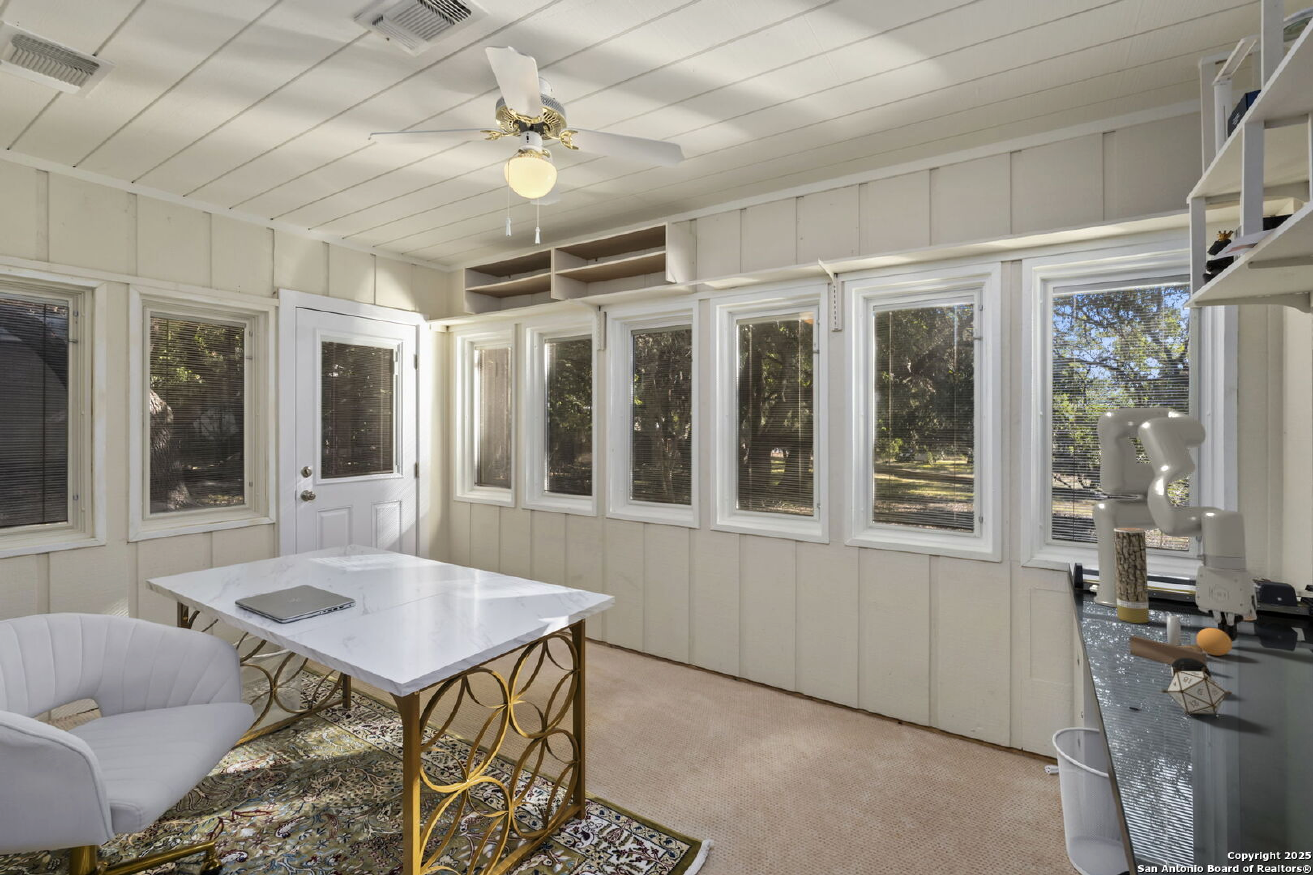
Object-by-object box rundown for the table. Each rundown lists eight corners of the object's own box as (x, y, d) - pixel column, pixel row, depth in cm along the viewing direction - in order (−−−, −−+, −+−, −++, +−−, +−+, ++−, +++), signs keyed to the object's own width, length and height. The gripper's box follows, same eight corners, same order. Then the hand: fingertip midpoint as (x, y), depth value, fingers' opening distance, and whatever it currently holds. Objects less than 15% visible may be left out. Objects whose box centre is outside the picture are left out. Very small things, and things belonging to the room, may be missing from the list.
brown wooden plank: (1134, 652, 143) (1133, 635, 143) (1207, 672, 130) (1206, 653, 130) (1130, 653, 142) (1129, 636, 143) (1203, 673, 130) (1202, 654, 130)
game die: (1184, 734, 111) (1139, 682, 115) (1209, 709, 114) (1165, 659, 118) (1230, 728, 103) (1180, 673, 107) (1256, 701, 106) (1206, 649, 110)
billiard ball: (1168, 681, 126) (1167, 651, 126) (1207, 686, 123) (1205, 656, 123) (1175, 691, 121) (1174, 660, 121) (1215, 697, 118) (1214, 665, 118)
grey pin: (1165, 652, 142) (1163, 615, 143) (1173, 651, 143) (1171, 615, 143) (1176, 656, 140) (1174, 618, 140) (1184, 655, 141) (1182, 617, 141)
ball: (1198, 619, 143) (1199, 635, 145) (1193, 639, 140) (1195, 656, 142) (1233, 626, 138) (1234, 643, 141) (1229, 647, 135) (1230, 664, 138)
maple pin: (1187, 651, 142) (1169, 654, 138) (1191, 642, 141) (1173, 644, 137) (1200, 657, 140) (1181, 660, 136) (1204, 648, 139) (1185, 650, 135)
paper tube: (1155, 624, 165) (1151, 530, 165) (1129, 624, 165) (1125, 531, 165) (1136, 617, 172) (1132, 527, 172) (1111, 617, 172) (1107, 527, 172)
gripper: (1178, 559, 151) (1181, 634, 151) (1256, 569, 138) (1260, 652, 137) (1196, 556, 154) (1199, 630, 154) (1274, 566, 141) (1278, 647, 140)
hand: (1228, 640), depth 146 cm, fingers closed
